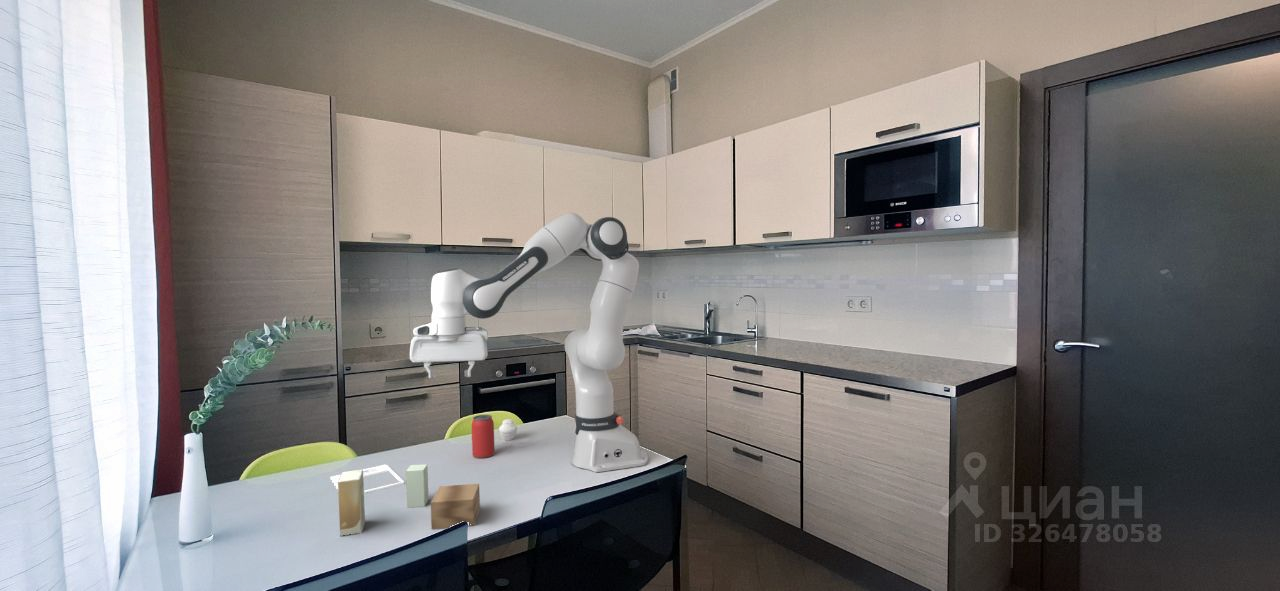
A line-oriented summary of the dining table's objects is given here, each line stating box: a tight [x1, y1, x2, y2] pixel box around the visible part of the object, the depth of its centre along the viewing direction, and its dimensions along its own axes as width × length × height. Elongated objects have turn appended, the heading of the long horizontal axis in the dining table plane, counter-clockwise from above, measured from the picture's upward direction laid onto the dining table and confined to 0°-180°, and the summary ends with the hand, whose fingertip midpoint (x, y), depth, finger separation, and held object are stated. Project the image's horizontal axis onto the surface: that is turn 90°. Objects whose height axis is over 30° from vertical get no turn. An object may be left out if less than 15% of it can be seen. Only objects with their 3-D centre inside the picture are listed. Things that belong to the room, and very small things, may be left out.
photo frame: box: [329, 464, 405, 494], centre depth 146 cm, size 15×1×18 cm
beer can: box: [471, 414, 496, 459], centre depth 165 cm, size 7×7×12 cm
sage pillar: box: [405, 464, 430, 509], centre depth 130 cm, size 4×4×9 cm
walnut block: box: [430, 483, 481, 530], centre depth 122 cm, size 9×9×6 cm
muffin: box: [498, 418, 518, 441], centre depth 180 cm, size 6×6×7 cm
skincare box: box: [337, 469, 366, 537], centre depth 118 cm, size 6×4×12 cm
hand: (449, 377), depth 147 cm, fingers open, 8 cm apart
